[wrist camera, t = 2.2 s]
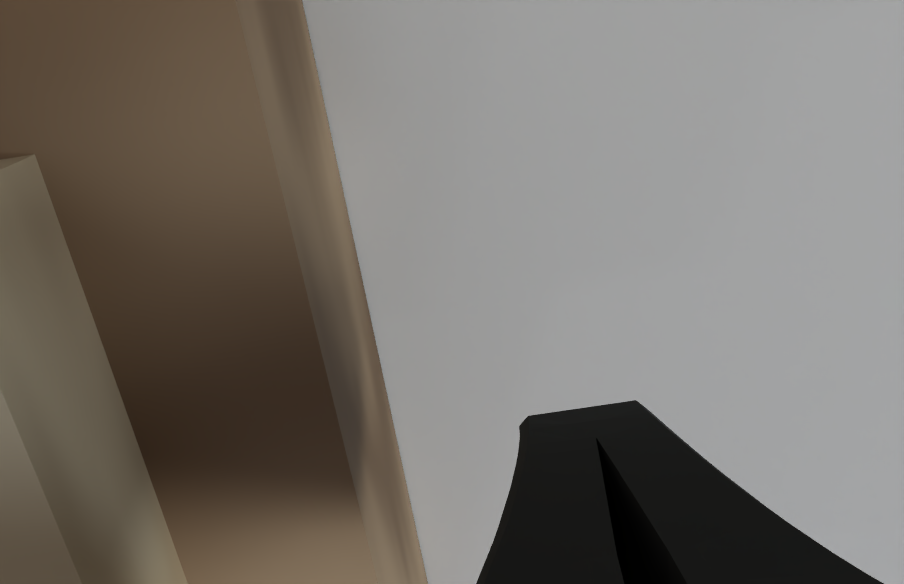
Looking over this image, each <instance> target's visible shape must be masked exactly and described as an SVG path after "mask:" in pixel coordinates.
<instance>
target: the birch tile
mask: <svg viewBox="0 0 904 584" xmlns="http://www.w3.org/2000/svg"><path fill="white" fill-rule="evenodd" d="M0 584H188V583H187V580H186V577H185V575H184V572H183V569H182V566H181V563H180V561H179V558H178V555H177V552H176V549H175V547H174V544H173V541H172V538H171V535H170V533H169V530H168V527H167V524H166V521H165V518H164V516H163V513H162V510H161V507H160V504H159V502H158V499H157V496H156V493H155V490H154V488H153V485H152V482H151V479H150V476H149V474H148V471H147V468H146V465H145V462H144V460H143V457H142V454H141V451H140V448H139V446H138V443H137V440H136V437H135V434H134V431H133V429H132V426H131V423H130V420H129V417H128V415H127V412H126V409H125V406H124V403H123V401H122V398H121V395H120V392H119V389H118V387H117V384H116V381H115V378H114V375H113V373H112V370H111V367H110V364H109V361H108V359H107V356H106V353H105V350H104V347H103V344H102V342H101V339H100V336H99V333H98V330H97V328H96V325H95V322H94V319H93V316H92V314H91V311H90V308H89V305H88V302H87V300H86V297H85V294H84V291H83V288H82V286H81V283H80V280H79V277H78V274H77V272H76V269H75V266H74V263H73V260H72V257H71V255H70V252H69V249H68V246H67V243H66V241H65V238H64V235H63V232H62V229H61V227H60V224H59V221H58V218H57V215H56V213H55V210H54V207H53V204H52V201H51V199H50V196H49V193H48V190H47V187H46V185H45V182H44V179H43V176H42V173H41V170H40V168H39V165H38V162H37V159H36V156H35V154H32V155H26V156H20V157H14V158H8V159H2V160H0Z"/></svg>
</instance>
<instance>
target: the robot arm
mask: <svg viewBox="0 0 904 584" xmlns="http://www.w3.org/2000/svg"><path fill="white" fill-rule="evenodd" d="M519 429H520V442H519V451H518V457H517V462H516V467H515V471H514V476H513V480H512V484H511V488H510V491H509V495H508V498H507V501H506V504H505V507H504V511H503V514H502V517H501V520H500V524H499V527H498V530H497V533H496V536H495V538H494V541H493V544H492V546H491V549H490V551H489V554H488V556H487V559H486V561H485V563H484V566H483V568H482V571H481V573H480V576H479V578H478V581H477V583H476V584H883V583H882V582H880V581H878V580H876V579H875V578H873V577H871V576H869V575H868V574H866V573H864V572H863V571H861V570H860V569H858V568H856V567H855V566H853V565H851V564H850V563H848V562H847V561H845V560H843V559H842V558H840V557H839V556H837V555H835V554H834V553H832V552H831V551H829V550H828V549H826V548H825V547H823V546H822V545H820V544H819V543H817V542H816V541H814V540H813V539H811V538H810V537H808V536H807V535H806V534H804V533H803V532H801V531H800V530H798V529H797V528H795V527H794V526H792V525H791V524H789V523H788V522H786V521H785V520H784V519H782V518H781V517H780V516H778V515H777V514H775V513H774V512H773V511H771V510H770V509H768V508H767V507H766V506H764V505H763V504H762V503H760V502H759V501H758V500H757V499H755V498H754V497H753V496H751V495H750V494H749V493H747V492H746V491H745V490H744V489H742V488H741V487H740V486H738V485H737V484H736V483H735V482H733V481H732V480H731V479H729V478H728V477H727V476H725V475H724V474H723V473H722V472H720V471H719V470H718V469H717V468H715V467H714V466H713V465H712V464H710V463H709V462H708V461H707V460H706V459H704V458H703V457H702V456H701V455H700V454H698V453H697V452H696V451H695V450H694V449H693V448H691V447H690V446H689V445H688V444H687V443H685V442H684V441H683V440H682V439H681V438H680V437H678V436H677V435H676V434H675V433H674V432H673V431H672V430H670V429H669V428H668V427H667V426H666V425H665V424H664V423H662V422H661V421H660V420H659V419H658V418H657V417H656V416H655V415H653V414H652V413H651V412H650V411H649V410H648V409H646V408H645V407H644V406H643V405H641V404H640V403H639V402H637V401H636V400H635V401H628V402H621V403H614V404H607V405H601V406H594V407H587V408H580V409H573V410H566V411H559V412H552V413H545V414H538V415H532V416H528V417H527V418H526V419H525V420H524V421H523V423H522V424H521V425H520V426H519Z"/></svg>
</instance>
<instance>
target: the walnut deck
mask: <svg viewBox="0 0 904 584" xmlns="http://www.w3.org/2000/svg"><path fill="white" fill-rule="evenodd" d="M32 154H35V156H36V159H37V162H38V165H39V168H40V170H41V173H42V176H43V179H44V182H45V185H46V187H47V190H48V193H49V196H50V199H51V201H52V204H53V207H54V210H55V213H56V215H57V218H58V221H59V224H60V227H61V229H62V232H63V235H64V238H65V241H66V243H67V246H68V249H69V252H70V255H71V257H72V260H73V263H74V266H75V269H76V272H77V274H78V277H79V280H80V283H81V286H82V288H83V291H84V294H85V297H86V300H87V302H88V305H89V308H90V311H91V314H92V316H93V319H94V322H95V325H96V328H97V330H98V333H99V336H100V339H101V342H102V344H103V347H104V350H105V353H106V356H107V359H108V361H109V364H110V367H111V370H112V373H113V375H114V378H115V381H116V384H117V387H118V389H119V392H120V395H121V398H122V401H123V403H124V406H125V409H126V412H127V415H128V417H129V420H130V423H131V426H132V429H133V431H134V434H135V437H136V440H137V443H138V446H139V448H140V451H141V454H142V457H143V460H144V462H145V465H146V468H147V471H148V474H149V476H150V479H151V482H152V485H153V488H154V490H155V493H156V496H157V499H158V502H159V504H160V507H161V510H162V513H163V516H164V518H165V521H166V524H167V527H168V530H169V533H170V535H171V538H172V541H173V544H174V547H175V549H176V552H177V555H178V558H179V561H180V563H181V566H182V569H183V572H184V575H185V577H186V580H187V583H188V584H428V582H427V578H426V573H425V568H424V564H423V559H422V554H421V550H420V545H419V541H418V536H417V531H416V527H415V522H414V517H413V513H412V508H411V503H410V499H409V494H408V490H407V485H406V480H405V476H404V471H403V466H402V462H401V457H400V453H399V448H398V443H397V439H396V434H395V429H394V425H393V420H392V415H391V411H390V406H389V402H388V397H387V392H386V388H385V383H384V378H383V374H382V369H381V364H380V360H379V355H378V351H377V346H376V341H375V337H374V332H373V327H372V323H371V318H370V314H369V309H368V304H367V300H366V295H365V290H364V286H363V281H362V276H361V272H360V267H359V263H358V258H357V253H356V249H355V244H354V239H353V235H352V230H351V225H350V221H349V216H348V212H347V207H346V202H345V198H344V193H343V188H342V184H341V179H340V175H339V170H338V165H337V161H336V156H335V151H334V147H333V142H332V137H331V133H330V128H329V124H328V119H327V114H326V110H325V105H324V100H323V96H322V91H321V86H320V82H319V77H318V73H317V68H316V63H315V59H314V54H313V49H312V45H311V40H310V36H309V31H308V26H307V22H306V17H305V12H304V8H303V3H302V0H0V160H2V159H8V158H14V157H20V156H26V155H32Z"/></svg>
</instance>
